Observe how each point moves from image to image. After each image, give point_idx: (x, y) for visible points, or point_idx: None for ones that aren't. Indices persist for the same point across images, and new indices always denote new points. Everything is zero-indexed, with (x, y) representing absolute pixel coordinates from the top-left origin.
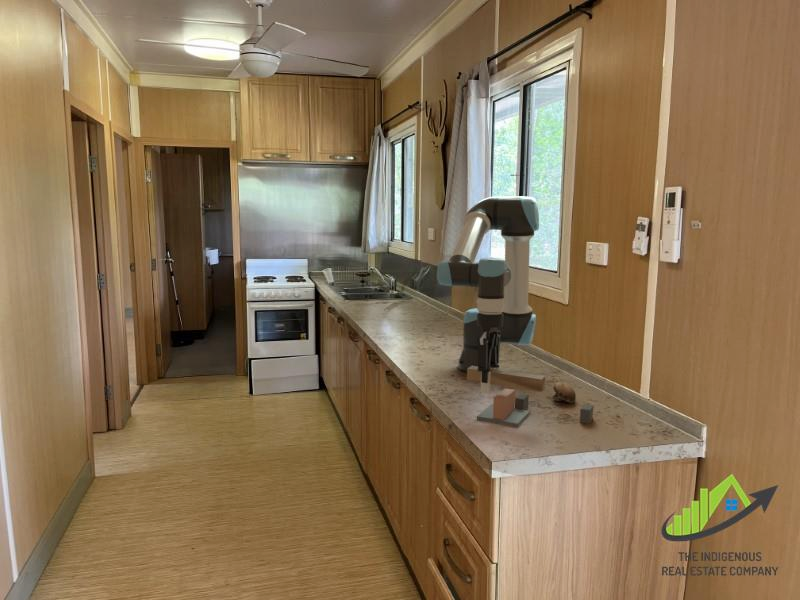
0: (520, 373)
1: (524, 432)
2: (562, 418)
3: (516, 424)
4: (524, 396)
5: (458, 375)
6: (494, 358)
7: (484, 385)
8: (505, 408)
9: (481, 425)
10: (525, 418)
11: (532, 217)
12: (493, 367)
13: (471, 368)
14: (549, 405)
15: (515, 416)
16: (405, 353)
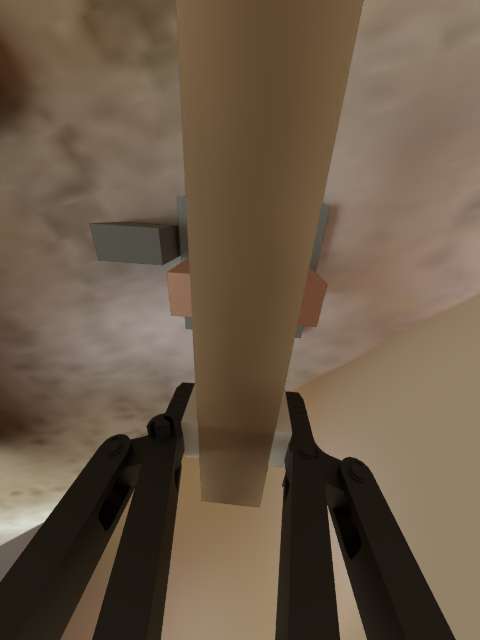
0: (214, 242)
1: (370, 166)
2: (151, 29)
3: (327, 210)
4: (121, 234)
5: (29, 434)
6: (167, 509)
7: None
8: None
9: (339, 311)
10: None
11: None
12: (181, 435)
13: (250, 497)
14: (42, 144)
15: None
16: (3, 516)
